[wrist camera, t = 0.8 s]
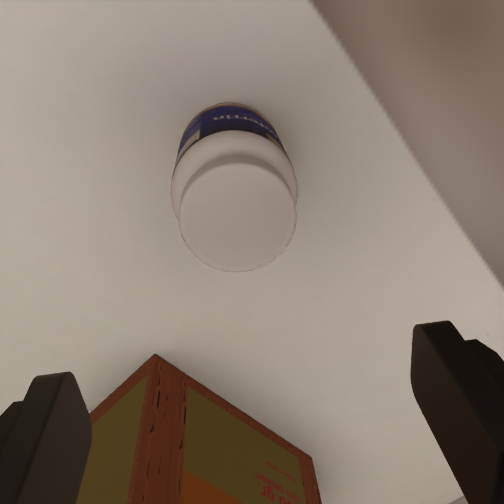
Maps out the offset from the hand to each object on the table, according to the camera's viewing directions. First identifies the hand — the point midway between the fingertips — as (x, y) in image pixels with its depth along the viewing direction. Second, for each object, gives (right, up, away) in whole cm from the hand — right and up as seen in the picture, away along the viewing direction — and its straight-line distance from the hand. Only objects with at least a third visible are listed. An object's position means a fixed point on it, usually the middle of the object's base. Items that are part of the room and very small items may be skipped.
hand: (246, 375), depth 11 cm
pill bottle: (-1, +9, +17) cm, 19 cm away
